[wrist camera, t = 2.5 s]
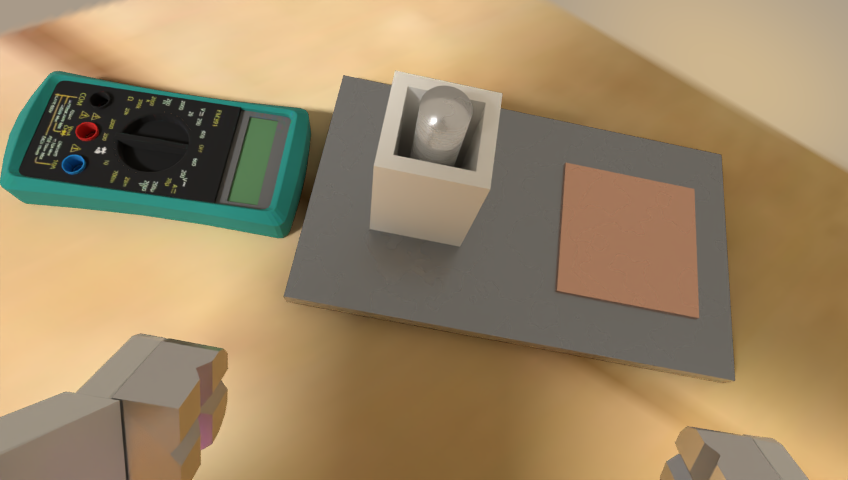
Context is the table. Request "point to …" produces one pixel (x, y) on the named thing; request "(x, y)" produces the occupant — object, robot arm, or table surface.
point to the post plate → (531, 239)
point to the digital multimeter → (158, 154)
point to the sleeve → (432, 167)
